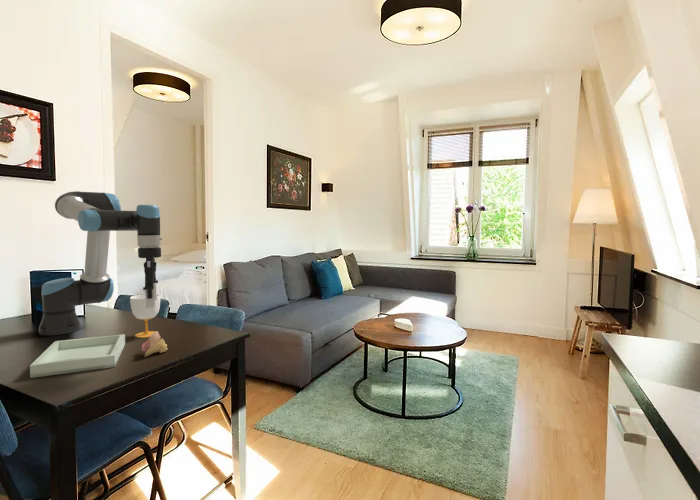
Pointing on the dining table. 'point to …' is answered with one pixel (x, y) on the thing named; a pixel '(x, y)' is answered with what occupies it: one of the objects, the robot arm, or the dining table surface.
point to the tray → (78, 355)
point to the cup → (144, 312)
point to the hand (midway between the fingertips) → (151, 303)
